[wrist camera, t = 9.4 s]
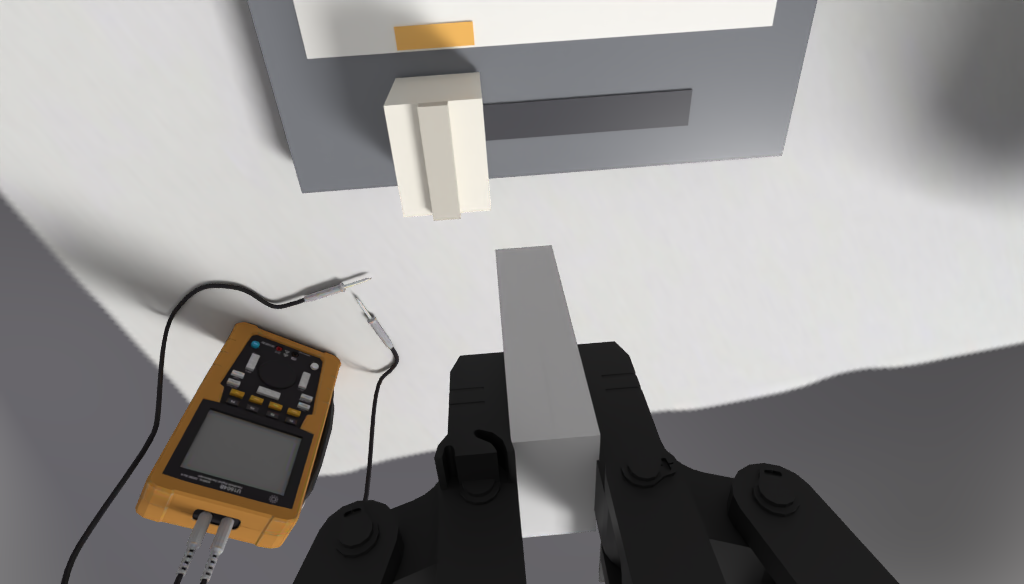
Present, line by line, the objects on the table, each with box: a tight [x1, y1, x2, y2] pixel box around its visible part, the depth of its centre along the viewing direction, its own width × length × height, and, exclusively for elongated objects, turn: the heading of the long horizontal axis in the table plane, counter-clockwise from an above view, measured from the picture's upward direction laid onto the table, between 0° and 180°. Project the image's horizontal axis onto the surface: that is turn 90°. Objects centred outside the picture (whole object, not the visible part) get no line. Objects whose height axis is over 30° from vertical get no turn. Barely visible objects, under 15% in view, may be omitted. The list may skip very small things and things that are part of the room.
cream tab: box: [384, 72, 491, 221], centre depth 26 cm, size 4×5×5 cm
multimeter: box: [61, 278, 399, 584], centre depth 28 cm, size 15×10×20 cm
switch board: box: [247, 0, 817, 193], centre depth 26 cm, size 26×16×3 cm, turn 93°
